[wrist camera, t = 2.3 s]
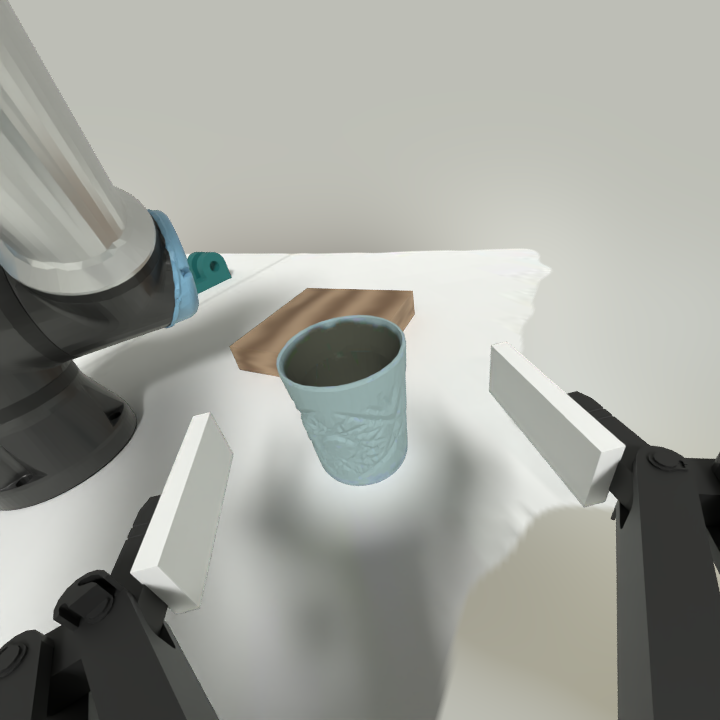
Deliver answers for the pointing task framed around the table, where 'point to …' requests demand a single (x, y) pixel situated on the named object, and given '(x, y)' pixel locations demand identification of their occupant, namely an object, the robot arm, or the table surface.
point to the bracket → (207, 269)
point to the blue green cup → (350, 394)
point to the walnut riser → (316, 321)
